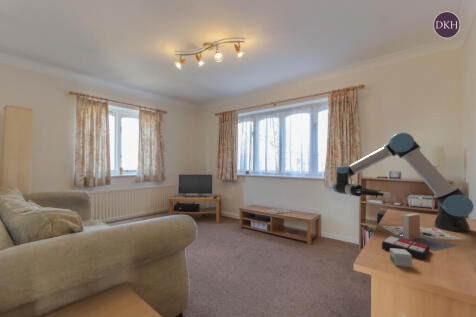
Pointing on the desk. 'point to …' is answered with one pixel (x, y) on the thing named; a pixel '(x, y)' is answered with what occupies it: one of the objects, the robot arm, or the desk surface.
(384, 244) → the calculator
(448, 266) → the desk surface
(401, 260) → the small box
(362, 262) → the desk surface
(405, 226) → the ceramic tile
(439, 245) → the tile mat
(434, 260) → the desk surface
